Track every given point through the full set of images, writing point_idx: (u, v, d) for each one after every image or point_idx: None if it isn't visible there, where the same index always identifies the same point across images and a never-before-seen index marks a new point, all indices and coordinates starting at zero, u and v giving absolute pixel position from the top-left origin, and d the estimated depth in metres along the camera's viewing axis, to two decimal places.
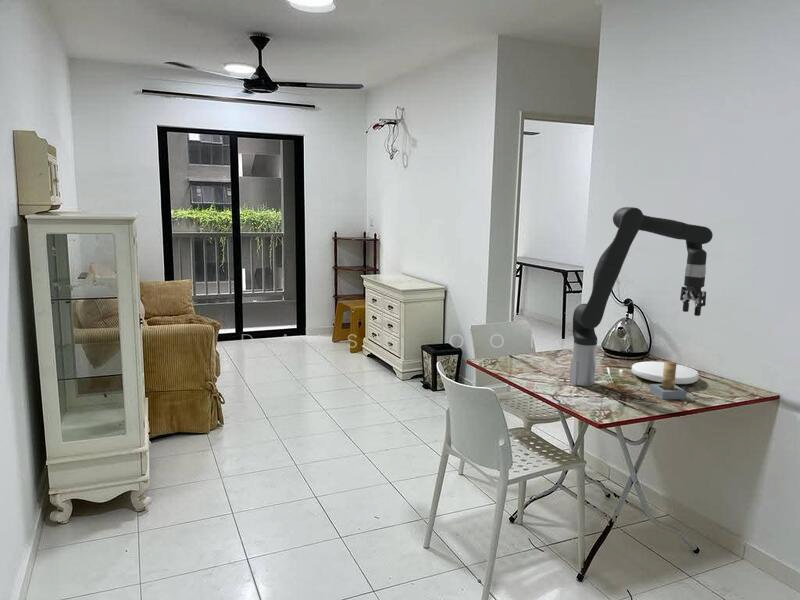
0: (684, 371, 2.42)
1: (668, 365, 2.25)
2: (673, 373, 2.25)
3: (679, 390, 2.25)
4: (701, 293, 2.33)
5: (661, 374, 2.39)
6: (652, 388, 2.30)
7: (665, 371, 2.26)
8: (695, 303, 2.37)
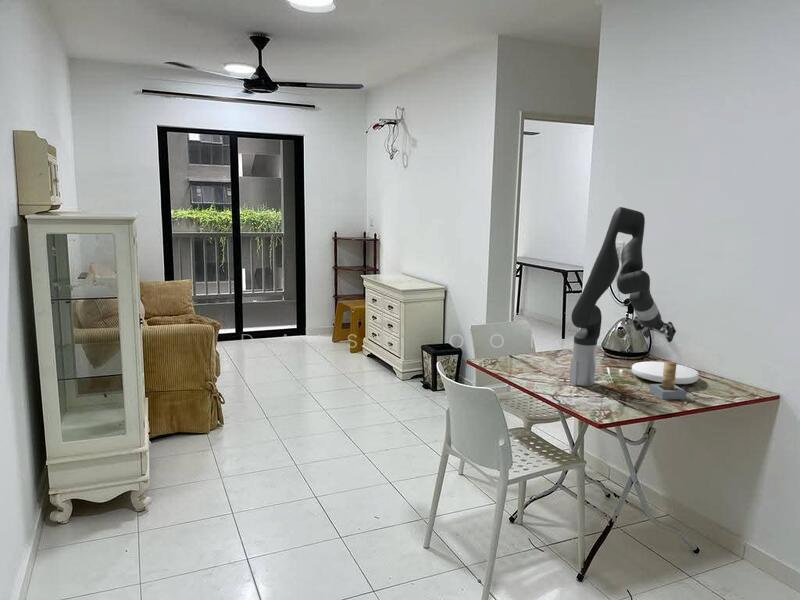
0: (684, 371, 2.42)
1: (668, 365, 2.25)
2: (673, 373, 2.25)
3: (679, 390, 2.25)
4: None
5: (661, 374, 2.39)
6: (652, 388, 2.30)
7: (665, 371, 2.26)
8: None
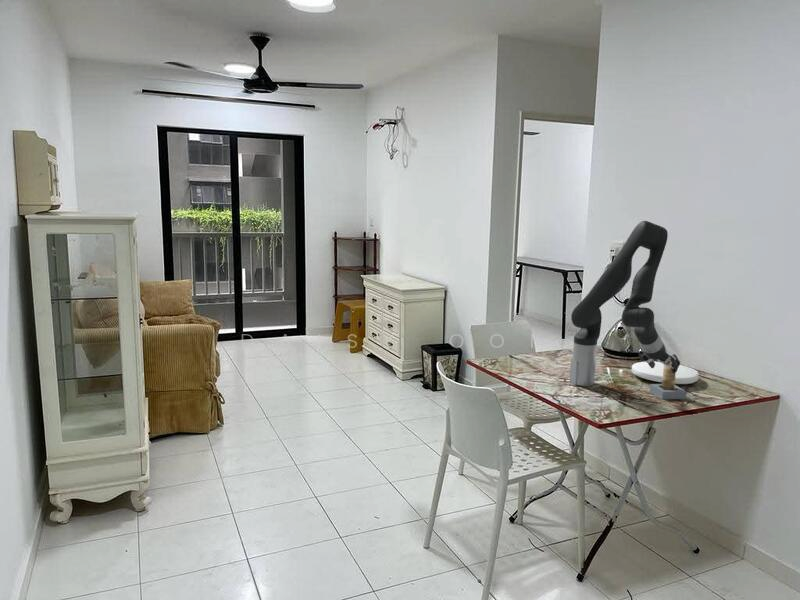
0: (684, 371, 2.42)
1: None
2: (673, 373, 2.25)
3: (679, 390, 2.25)
4: None
5: (661, 374, 2.39)
6: (652, 388, 2.30)
7: (665, 371, 2.26)
8: None
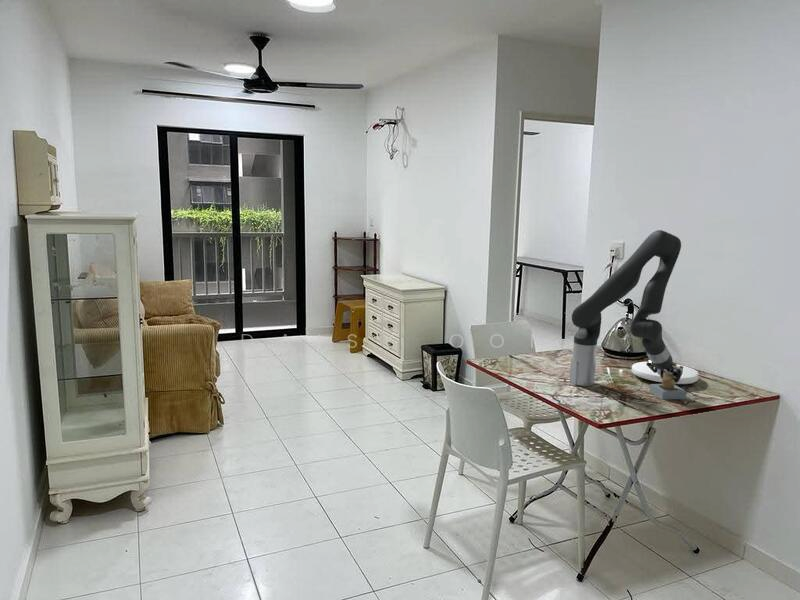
0: (684, 371, 2.42)
1: None
2: None
3: (679, 390, 2.25)
4: None
5: None
6: (652, 388, 2.30)
7: (665, 371, 2.26)
8: None
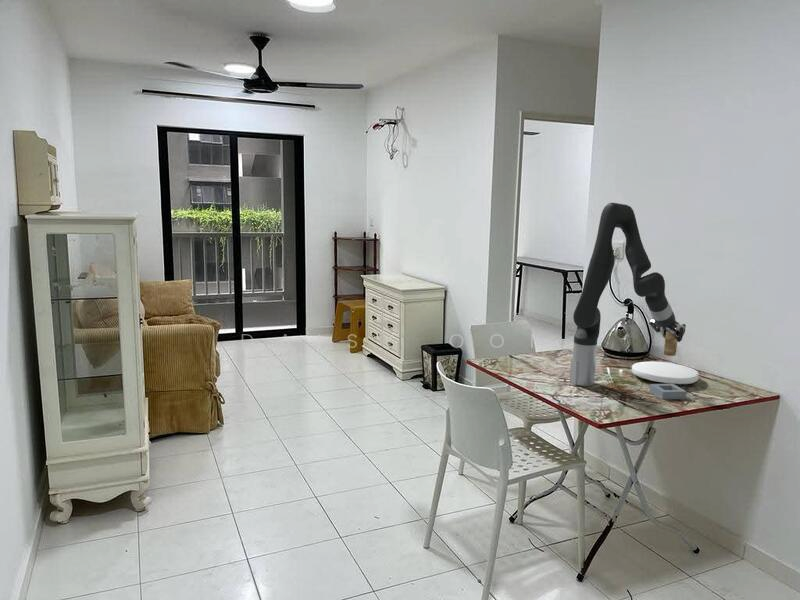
0: (684, 371, 2.42)
1: None
2: (676, 332, 2.26)
3: (679, 390, 2.25)
4: None
5: (661, 374, 2.39)
6: (652, 388, 2.30)
7: (668, 330, 2.27)
8: None
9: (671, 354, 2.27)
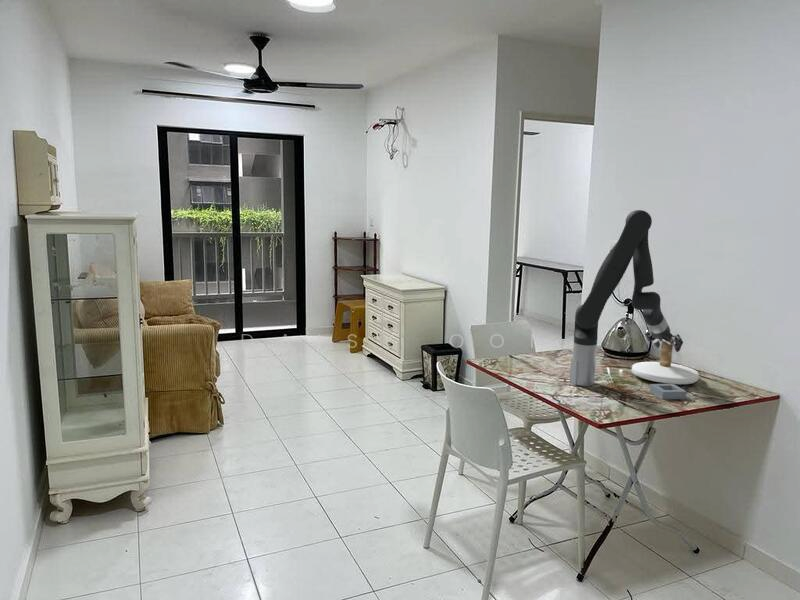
0: (684, 371, 2.42)
1: None
2: (670, 345, 2.46)
3: (679, 390, 2.25)
4: None
5: (661, 374, 2.39)
6: (652, 388, 2.30)
7: (663, 343, 2.47)
8: None
9: (666, 365, 2.47)
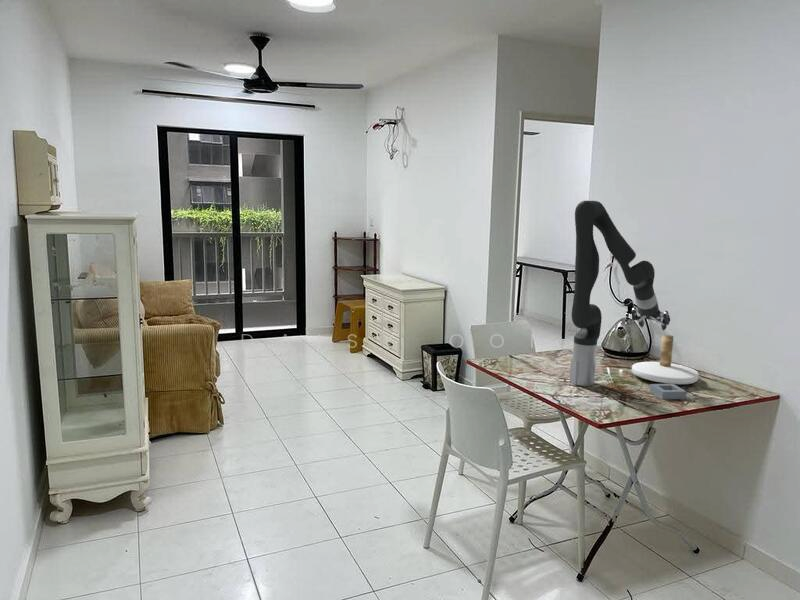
0: (684, 371, 2.42)
1: (666, 337, 2.46)
2: (670, 345, 2.46)
3: (679, 390, 2.25)
4: None
5: (661, 374, 2.39)
6: (652, 388, 2.30)
7: (663, 343, 2.47)
8: (641, 315, 2.40)
9: (666, 365, 2.47)
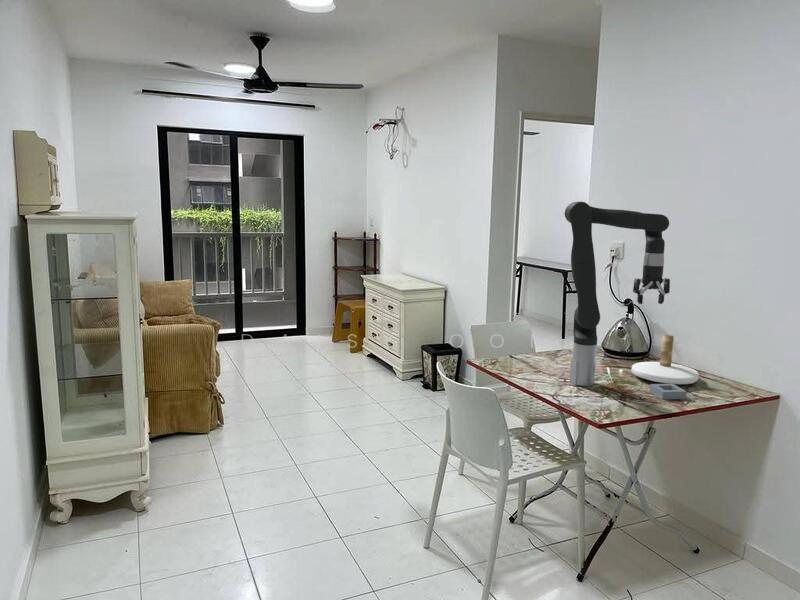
0: (684, 371, 2.42)
1: (666, 337, 2.46)
2: (670, 345, 2.46)
3: (679, 390, 2.25)
4: (635, 280, 2.35)
5: (661, 374, 2.39)
6: (652, 388, 2.30)
7: (663, 343, 2.47)
8: None
9: (667, 365, 2.47)
